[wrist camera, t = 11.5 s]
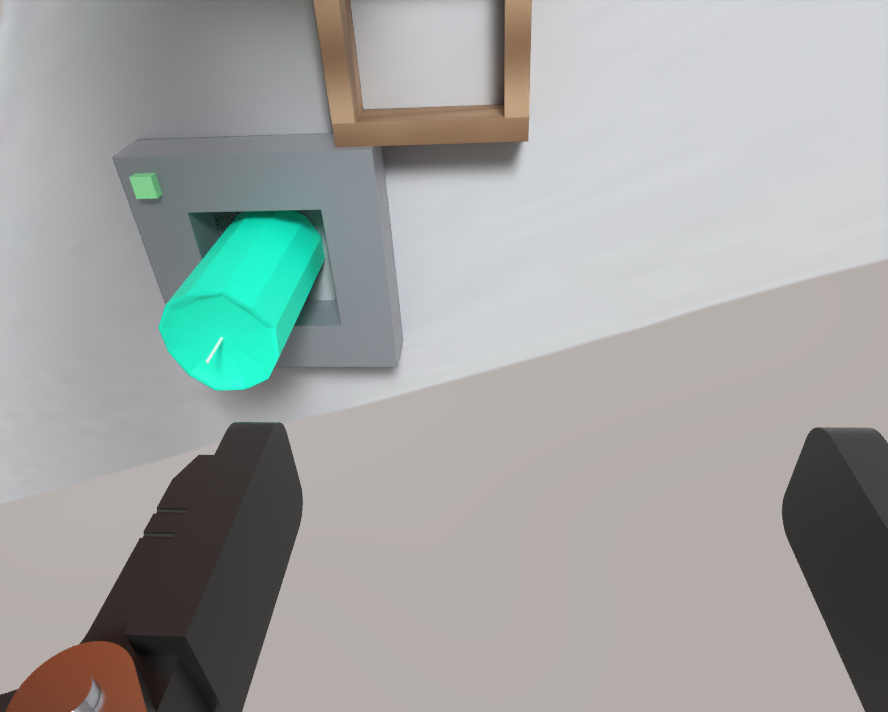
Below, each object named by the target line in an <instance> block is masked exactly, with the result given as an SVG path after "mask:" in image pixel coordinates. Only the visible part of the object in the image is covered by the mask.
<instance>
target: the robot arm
mask: <svg viewBox="0 0 888 712" xmlns="http://www.w3.org/2000/svg"><path fill="white" fill-rule="evenodd" d="M302 499H303V498H302V489H301V484H300V481H299V477H298V473H297V469H296V466H295V462H294V458H293V454H292V451H291V447H290V443H289V439H288V436H287V432H286V429H285V427H284V425H283V424H282V423H267V422H235V423H232V424H231V425H230V426H229V427H228V429H227V431H226V433H225V435H224V437H223V439H222V441H221V443H220V445H219V447H218V449H217V451H216V453H215V455H198V456H197V457H196V458H195V459H194V460H193V461H192V462H191V463H190V464H188V466H186V467H185V468H184V469H183V470H182V471H181V472H180V473H179V474H178V475H177V476H176V477H175V478H173V480H172V481H171V483H170V485H169V487H168V488H167V490H166V492H165V494H164V496H163V497H162V499H161V501H160V503H159V505H158V507H157V513H156V514H153V516H152V517H151V519H150V522H149V523H148V525H147V526H146V528H145V530H144V536H143V538H140V539H139V541H138V543H137V545H136V547H135V548H134V550H133V552H132V554H131V555H130V557H129V559H128V561H127V563H126V565H125V566H124V568H123V570H122V572H121V574H120V575H119V577H118V579H117V581H116V583H115V584H114V586H113V588H112V590H111V592H110V594H109V595H108V597H107V599H106V601H105V603H104V605H103V606H102V608H101V610H100V612H99V614H98V615H97V617H96V619H95V621H94V622H93V624H92V626H91V628H90V630H89V631H88V633H87V635H86V636H85V638H84V639H83V640H82V642H81V643H80V644H79V645H76V646H73V647H70V648H68V649H66V650H64V651H61V652H60V653H58V654H57V655H55V656H53V657H51V658H50V659H48V660H47V661H46V662H44V663H43V664H42V665H40V666H39V667H38V668H37V669H36V670H35V671H34V672H32V673H31V675H30V676H29V677H28V678H27V679H26V680H25V681H24V682H23V683H22V684H21V686H20V687H19V689H17V690H14V691H11V692H8V693H5V694H1V695H0V712H242V710H243V707H244V703H245V700H246V697H247V694H248V690H249V687H250V684H251V681H252V678H253V675H254V671H255V668H256V665H257V661H258V658H259V655H260V652H261V649H262V646H263V642H264V639H265V636H266V633H267V629H268V626H269V623H270V620H271V616H272V613H273V610H274V607H275V604H276V600H277V597H278V594H279V591H280V588H281V584H282V581H283V578H284V575H285V572H286V568H287V565H288V562H289V559H290V555H291V552H292V549H293V546H294V542H295V539H296V536H297V533H298V530H299V526H300V522H301V516H302V505H303V500H302ZM782 518H783V525H784V529H785V533H786V536H787V538H788V541H789V543H790V546H791V548H792V550H793V552H794V554H795V557H796V559H797V561H798V563H799V565H800V568H801V570H802V572H803V574H804V577H805V579H806V581H807V583H808V586H809V588H810V590H811V592H812V594H813V597H814V599H815V601H816V603H817V606H818V608H819V610H820V612H821V614H822V617H823V619H824V621H825V623H826V626H827V628H828V630H829V632H830V634H831V637H832V639H833V641H834V643H835V645H836V648H837V650H838V652H839V654H840V657H841V659H842V661H843V663H844V665H845V668H846V670H847V672H848V674H849V676H850V679H851V681H852V683H853V685H854V688H855V690H856V692H857V694H858V697H859V699H860V701H861V703H862V705H863V708H864V710H865V712H888V443H887V442H886V440H885V439H884V437H882V435H881V434H880V433H879V432H878V431H877V430H875V429H872V428H814V429H812V430H811V431H810V433H809V434H808V436H807V438H806V440H805V443H804V446H803V449H802V451H801V454H800V456H799V459H798V461H797V464H796V466H795V469H794V472H793V474H792V477H791V479H790V482H789V485H788V487H787V490H786V492H785V495H784V499H783V505H782Z"/></svg>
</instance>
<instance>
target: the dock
mask: <svg viewBox="0 0 888 712" xmlns="http://www.w3.org/2000/svg"><path fill="white" fill-rule="evenodd" d="M112 158H113V161H114V163H115V166H116V169H117V172H118V174H119V177H120V180H121V183H122V185H123V188H124V191H125V194H126V197H127V199H128V202H129V205H130V208H131V210H132V213H133V216H134V219H135V221H136V224H137V227H138V230H139V233H140V235H141V238H142V241H143V244H144V246H145V249H146V252H147V255H148V257H149V260H150V263H151V266H152V268H153V271H154V274H155V277H156V280H157V282H158V285H159V288H160V291H161V293H162V296H163V299H164V302H165V304H167V303H168V301H169V300H170V299H171V298H172V296H173V295H174V294H175V293H176V291H177V290H178V289H179V288H180V286H181V285H182V284H183V283H184V281H185V280H186V279H187V278H188V277H189V275H190V274H191V273H192V272H193V270H194V269H195V268H196V267H197V265H198V264H199V263H200V262H201V260H202V259H203V258H204V257H205V255H206V254H207V253H208V252H209V250H210V249H211V248H212V247H213V245H214V244H215V243H216V242H217V240H218V239H219V238H220V235H219V232H218V228H217V225H216V221H215V218H214V214H213V212H235V211H278V210H321V212H322V218H323V223H324V229H325V235H326V241H327V246H328V252H329V258H330V263H331V269H332V275H333V280H334V286H335V292H336V297H337V301H305V303H304V305H303V307H302V309H301V311H300V314H299V316H298V318H297V320H296V322H295V324H294V326H293V329H292V331H291V333H290V335H289V337H288V339H287V341H286V343H285V346H284V348H283V350H282V352H281V354H280V356H279V358H278V360H277V362H276V364H275V366H274V367H398V363H399V358H400V353H401V348H402V344H403V334H402V325H401V316H400V307H399V298H398V288H397V279H396V270H395V261H394V252H393V243H392V234H391V224H390V215H389V206H388V197H387V188H386V179H385V170H384V160H383V151H382V146H363V147H335V141H334V134H333V133H324V134H294V135H264V136H234V137H204V138H174V139H144V140H137V141H135V142H134V143H132V144H131V145H130V146H128V147H127V148H125V149H124V150H122V151H121V152H119V153H118V154H117V155H115V156H114V157H112Z"/></svg>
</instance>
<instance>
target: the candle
mask: <svg viewBox="0 0 888 712" xmlns="http://www.w3.org/2000/svg"><path fill="white" fill-rule="evenodd" d="M324 260H325V257H324V250H323V243H322V237H321V235H320V234H319V233H318V231H317V230H316V229H315V228H314V226H313V225H312V224H311V222H310V221H309V220H308V218H307V217H306V216H305V215H303V214H301V213H299V212H297V211H295V210H278V211H244V212H242V213H241V214H239V215H237V217H236V218H235V219H234V220H233V222H232V223H231V224H230V225H229V227H228V228H227V229H226V230H225V232H224V233H223V234H222V235H221V237H220V238H219V239H218V240H217V242H216V243H215V244H214V245H213V247H212V248H211V249H210V250H209V252H208V253H207V254H206V255H205V257H204V258H203V259H202V260H201V262H200V263H199V264H198V265H197V267H196V268H195V269H194V270H193V272H192V273H191V274H190V275H189V277H188V278H187V279H186V280H185V281H184V283H183V284H182V285H181V286H180V288H179V289H178V290H177V291H176V293H175V294H174V295H173V296H172V298H171V299H170V300H169V301H168V303H167V304H166V306H165V309H164V312H163V315H162V318H161V321H160V324H159V327H158V328H159V330H160V333H161V335H162V338H163V340H164V343H165V345H166V348H167V350H168V352H169V353H170V354H171V356H172V357H173V358H174V359H175V360H176V361H177V362H178V363H179V365H180V366H181V367H182V368H183V369H184V370H185V371H186V373H187V374H188V375H189V376H191V377H193V378H195V379H196V380H198V381H200V382H202V383H203V384H205V385H207V386H209V387H210V388H212V389H214V390H216V391H219V390H244V389H248V388H250V387H252V386H254V385H257V384H259V383H261V382H263V381H265V380H267V379H269V377H270V375H271V373H272V371H273V369H274V366H275V364H276V362H277V360H278V358H279V356H280V354H281V352H282V350H283V348H284V346H285V343H286V341H287V339H288V337H289V335H290V333H291V331H292V329H293V326H294V324H295V322H296V320H297V318H298V316H299V314H300V311H301V309H302V307H303V305H304V303H305V301H306V299H307V296H308V294H309V292H310V290H311V288H312V286H313V284H314V281H315V279H316V277H317V275H318V273H319V271H320V269H321V266H322V264H323V262H324Z"/></svg>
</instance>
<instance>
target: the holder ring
mask: <svg viewBox="0 0 888 712" xmlns="http://www.w3.org/2000/svg"><path fill="white" fill-rule="evenodd" d="M313 3H314V9H315V16H316V23H317V29H318V36H319V42H320V49H321V55H322V62H323V68H324V75H325V82H326V88H327V95H328V101H329V108H330V114H331V121H332V128H333V134H334V141H335V147H363V146H395V145H427V144H459V143H490V142H522V141H528V130H529V90H530V51H531V11H532V0H504V104H503V105H476V106H448V107H421V108H393V109H366V110H363V103H362V95H361V87H360V79H359V70H358V62H357V54H356V46H355V38H354V29H353V21H352V13H351V5H350V0H313Z"/></svg>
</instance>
